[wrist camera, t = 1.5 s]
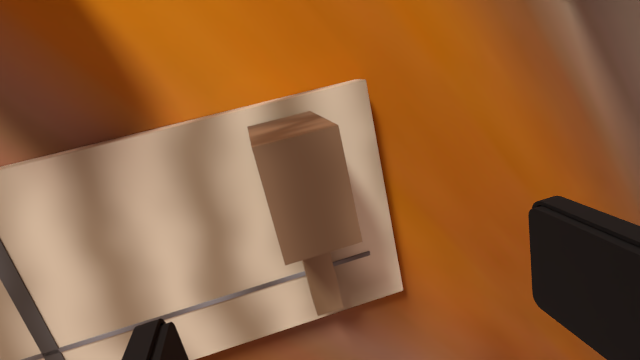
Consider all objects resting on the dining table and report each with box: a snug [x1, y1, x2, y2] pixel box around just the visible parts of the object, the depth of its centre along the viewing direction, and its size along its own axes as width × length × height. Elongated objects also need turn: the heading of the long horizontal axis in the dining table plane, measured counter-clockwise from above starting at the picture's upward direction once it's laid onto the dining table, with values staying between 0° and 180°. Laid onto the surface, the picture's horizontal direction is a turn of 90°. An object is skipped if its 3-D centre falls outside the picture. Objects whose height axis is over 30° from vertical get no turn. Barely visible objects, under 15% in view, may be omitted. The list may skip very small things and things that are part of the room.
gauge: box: [247, 111, 363, 316], centre depth 22 cm, size 4×13×7 cm, turn 14°
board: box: [0, 79, 403, 360], centre depth 25 cm, size 36×16×2 cm, turn 104°
